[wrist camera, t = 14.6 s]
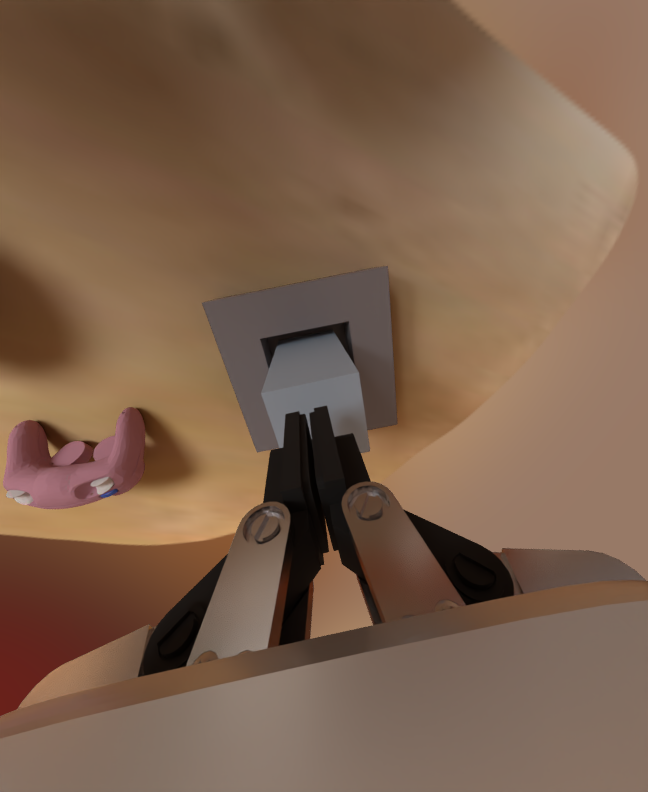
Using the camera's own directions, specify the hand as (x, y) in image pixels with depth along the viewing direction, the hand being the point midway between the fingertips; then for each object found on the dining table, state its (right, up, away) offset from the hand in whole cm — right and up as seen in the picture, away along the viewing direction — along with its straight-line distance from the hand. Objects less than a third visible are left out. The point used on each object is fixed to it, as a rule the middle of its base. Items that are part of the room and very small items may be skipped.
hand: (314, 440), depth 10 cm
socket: (-1, +5, +11) cm, 12 cm away
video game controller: (-20, -2, +13) cm, 24 cm away
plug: (-1, +5, +11) cm, 12 cm away
